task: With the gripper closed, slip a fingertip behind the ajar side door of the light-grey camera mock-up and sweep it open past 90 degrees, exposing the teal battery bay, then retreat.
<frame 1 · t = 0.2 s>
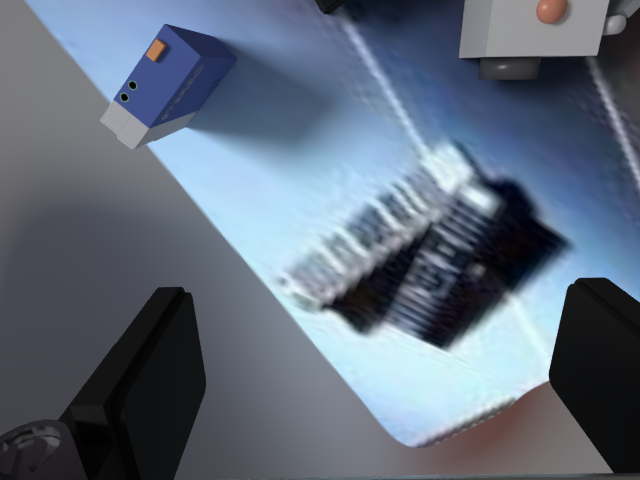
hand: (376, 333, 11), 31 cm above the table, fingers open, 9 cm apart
walkman: (199, 83, 38), on the table
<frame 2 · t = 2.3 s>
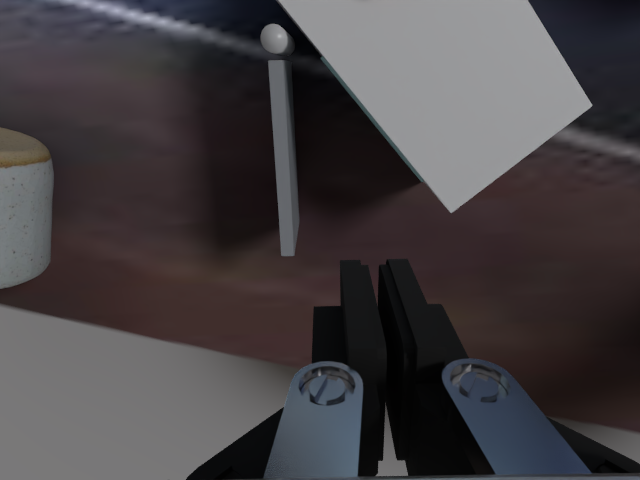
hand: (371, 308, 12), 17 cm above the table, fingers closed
camera body: (407, 50, 25), on the table
side door: (285, 142, 24), point 3 cm above the table, hinge at 40.0°
ceramic mug: (1, 184, 28), on the table
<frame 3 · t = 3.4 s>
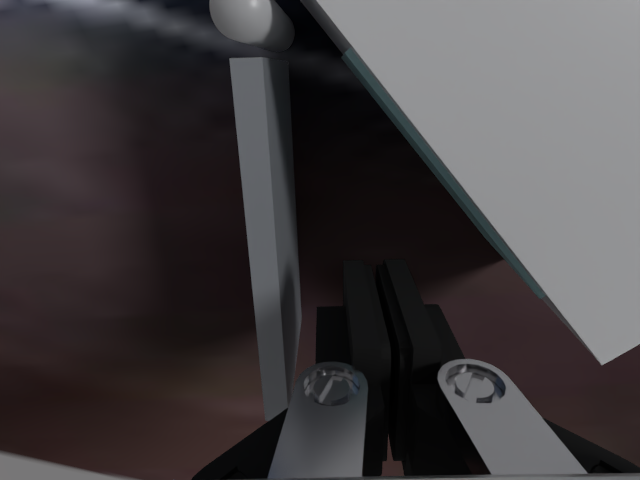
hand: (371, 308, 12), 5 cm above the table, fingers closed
camera body: (495, 41, 14), on the table
side door: (275, 209, 13), point 3 cm above the table, hinge at 40.0°
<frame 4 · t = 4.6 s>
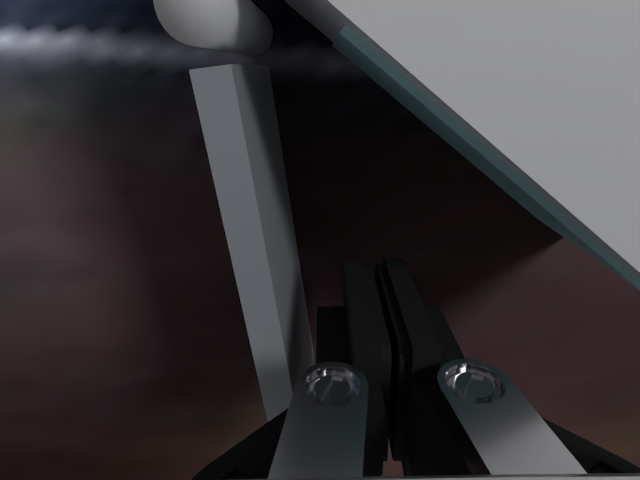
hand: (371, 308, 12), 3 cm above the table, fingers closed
side door: (271, 240, 11), point 3 cm above the table, hinge at 45.8°, touching gripper
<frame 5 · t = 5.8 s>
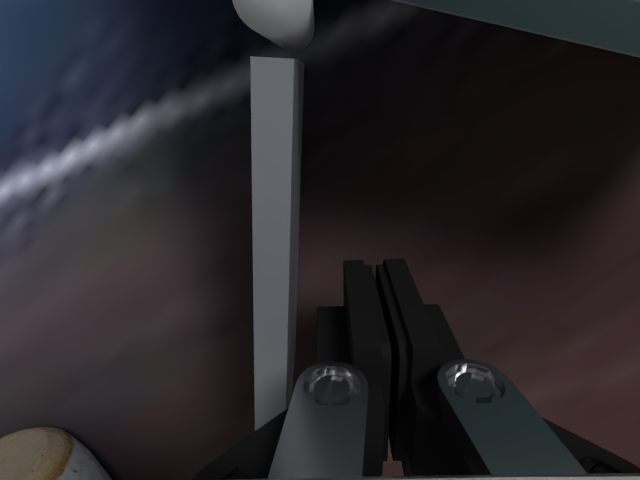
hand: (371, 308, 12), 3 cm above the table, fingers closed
side door: (282, 238, 11), point 3 cm above the table, hinge at 81.6°, touching gripper
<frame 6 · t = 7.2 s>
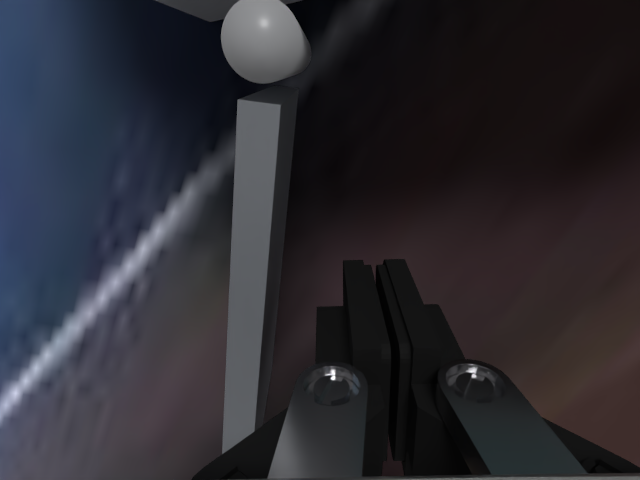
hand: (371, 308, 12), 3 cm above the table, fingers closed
side door: (263, 263, 11), point 3 cm above the table, hinge at 108.4°
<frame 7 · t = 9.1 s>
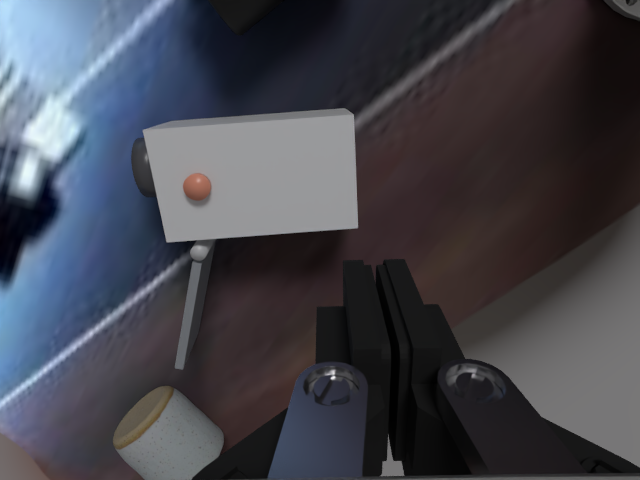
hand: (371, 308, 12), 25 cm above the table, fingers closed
camera body: (264, 163, 35), on the table
side door: (197, 293, 36), point 3 cm above the table, hinge at 108.4°
ceramic mug: (172, 416, 45), on the table
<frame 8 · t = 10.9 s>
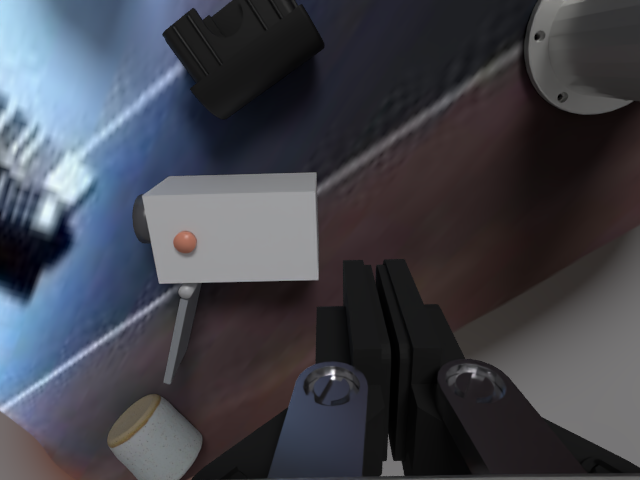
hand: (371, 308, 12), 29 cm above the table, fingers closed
camera body: (246, 214, 41), on the table
power tool battery: (253, 46, 36), on the table
side door: (185, 320, 42), point 3 cm above the table, hinge at 108.4°
ceramic mug: (159, 419, 52), on the table
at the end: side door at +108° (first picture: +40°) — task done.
